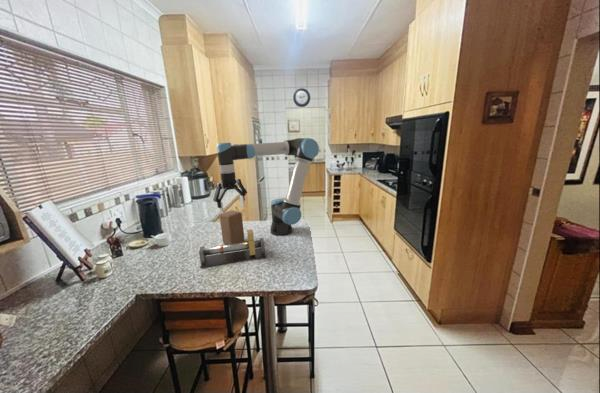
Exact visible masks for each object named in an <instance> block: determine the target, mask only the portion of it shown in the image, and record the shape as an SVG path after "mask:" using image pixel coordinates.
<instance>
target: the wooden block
mask: <svg viewBox="0 0 600 393" xmlns="http://www.w3.org/2000/svg"><path fill="white" fill-rule="evenodd" d="M219 221H220V222H219V224H220V229H221V230H220V231H221V238H222V243H223V244H224V245H230V244H237V243H244V242H245V232H244V224H243V223H244V222H243V215H242V212H241V211H237V210H231V209H230V210H228V211H226V212H225V211H224V214H222V213H219ZM223 244H222V245H223Z"/></svg>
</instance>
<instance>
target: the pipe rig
mask: <svg viewBox="0 0 600 393" xmlns="http://www.w3.org/2000/svg"><path fill="white" fill-rule="evenodd" d="M254 245H255V255H250V253H249V242H248V241H246V242H245V241H244V242H243V243H237V244H230V245H225V244H224V245H223V244H222V245H221V244H220V245H217V246H211V247H210V246H209V247H205V246H200V247H199V251H198V253H199V260H200V269H205V268H212V267H218V266H223V265H224V266H225V265H230V264H236V262H237V263H243V262H247V261H248V262H249V261H253V260H261V259H266V258H267V254H266V244H265V240H264V237H260V238H259V240H254Z"/></svg>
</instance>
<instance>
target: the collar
mask: <svg viewBox="0 0 600 393" xmlns="http://www.w3.org/2000/svg"><path fill="white" fill-rule="evenodd" d="M246 234H247V240H248V241H247V242H249V249H248V250H249V253H250V255H255V249H256V248H255V245H254V241H255V238H254V230H253V228H251V229H247V230H246Z"/></svg>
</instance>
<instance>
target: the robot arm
mask: <svg viewBox="0 0 600 393" xmlns="http://www.w3.org/2000/svg"><path fill="white" fill-rule="evenodd" d="M216 152H217V158H218V165H219V172H220V179H221V182H217V183H216V184H215V186H216V189H215V193H214V195H213V199H212V201H213V202H215V203H217V204H216V205H217V208H218V209H219V214H224V213H225V211H224V204H223V203H224V202H223V201H222V200H223V198H224V196H225V194H226V193H227V191H228V190H229V191H230V190H233V189H234V190H235V191H236V192H237V193H238V194H240V195H239V202H240V203H239V204H240V207H241V208H245V201H246V198H245V196H246V194H248V191H247V189H246V188H245V187H244V185H243V183H242V180H241V178H236V171H235V170H236V169H235V162H234V161H238V160H250V159H254V158H255V157H261V156H274V155H284V156H292V157H293V156H294V157H293V158H294V160H295V163H294V167H293V171H292V173H291V174H292V175H291V179H290V181H289V182H290V183H289V186H288V190H287V194H286V198H284V197H282V198H276V199H273V200H271V201H270V208H271V225H270V230H269V231H270V234H271V235H273V236H287V235H290V234H291V233H292V232H293V225H296V224H298V223H299V222H300V220H301V219H302V211H301V206H302V204H301V202H300V201H301V196H302V193H303V189H304V185H305V182H306V177H307V175H308V170H309V166H310V165H311V164H312V163H313V162H314V158H316V157H317V156H318V155H319V152H320V146H319V144H318V141H316V140H315V139H313V138H310V137H304V138H302V137H301V138H300V137H299V138H293V139H288V140H286V139H284V140H283V141H282V142H281V141H280V142H279V141H277V142H263V143H262V142H260V143H258V142H257V143H246V144H243V143H241V144H237V143H236V144H234V145H233V144H232V143H231V142H219V143H217V144H216Z"/></svg>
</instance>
